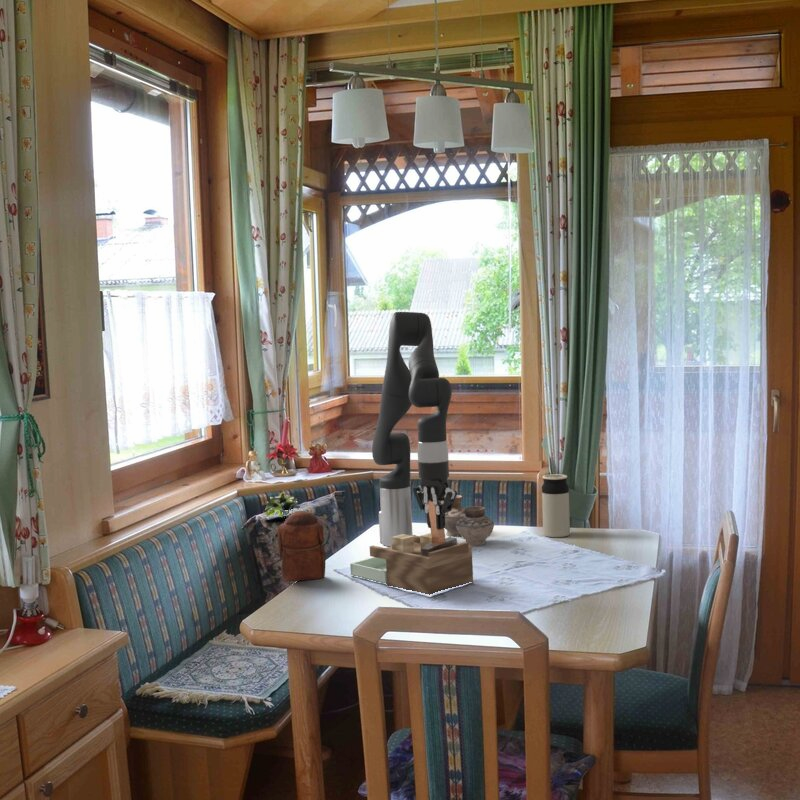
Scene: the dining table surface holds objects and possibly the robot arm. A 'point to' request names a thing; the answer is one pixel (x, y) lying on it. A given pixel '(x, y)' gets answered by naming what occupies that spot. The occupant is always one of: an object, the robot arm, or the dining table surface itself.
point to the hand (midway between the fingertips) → (436, 527)
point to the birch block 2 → (425, 540)
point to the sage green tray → (370, 569)
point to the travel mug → (555, 506)
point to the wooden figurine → (301, 547)
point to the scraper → (436, 534)
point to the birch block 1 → (403, 543)
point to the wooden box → (427, 567)
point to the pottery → (468, 523)
